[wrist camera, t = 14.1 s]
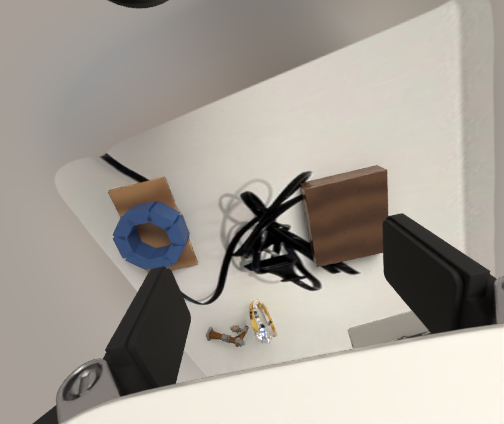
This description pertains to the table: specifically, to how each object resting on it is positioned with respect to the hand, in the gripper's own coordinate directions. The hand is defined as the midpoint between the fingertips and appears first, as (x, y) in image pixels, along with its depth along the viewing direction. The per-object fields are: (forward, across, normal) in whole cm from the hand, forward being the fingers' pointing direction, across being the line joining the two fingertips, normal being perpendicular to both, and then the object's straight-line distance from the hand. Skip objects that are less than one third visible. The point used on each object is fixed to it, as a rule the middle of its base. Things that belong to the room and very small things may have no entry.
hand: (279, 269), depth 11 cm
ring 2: (+28, +5, +28) cm, 40 cm away
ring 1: (+28, +18, +8) cm, 34 cm away
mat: (+28, +18, +8) cm, 35 cm away
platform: (+28, -12, +13) cm, 33 cm away
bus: (+28, -24, +45) cm, 58 cm away
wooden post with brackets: (+28, +13, +32) cm, 45 cm away
